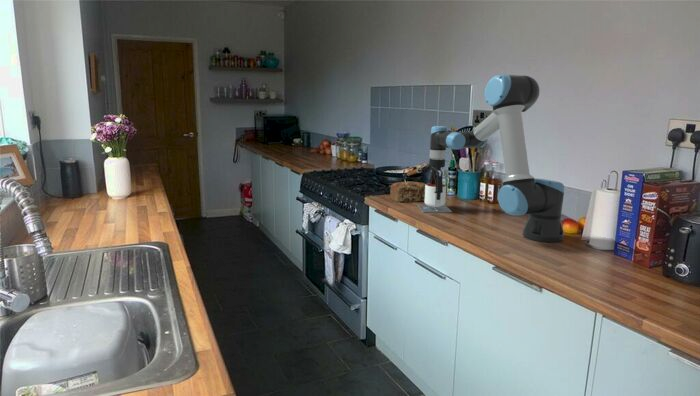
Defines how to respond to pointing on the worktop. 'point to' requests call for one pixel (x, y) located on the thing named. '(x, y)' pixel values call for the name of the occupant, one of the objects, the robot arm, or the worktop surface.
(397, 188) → the bread
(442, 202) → the cup
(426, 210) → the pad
